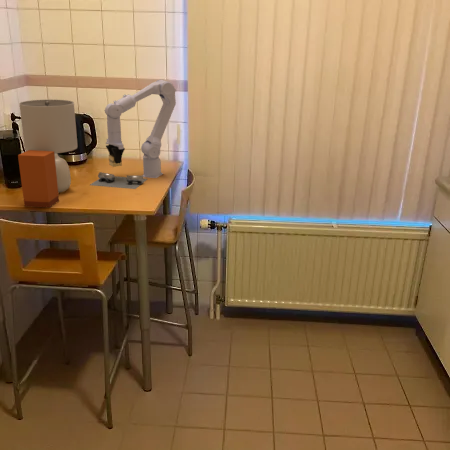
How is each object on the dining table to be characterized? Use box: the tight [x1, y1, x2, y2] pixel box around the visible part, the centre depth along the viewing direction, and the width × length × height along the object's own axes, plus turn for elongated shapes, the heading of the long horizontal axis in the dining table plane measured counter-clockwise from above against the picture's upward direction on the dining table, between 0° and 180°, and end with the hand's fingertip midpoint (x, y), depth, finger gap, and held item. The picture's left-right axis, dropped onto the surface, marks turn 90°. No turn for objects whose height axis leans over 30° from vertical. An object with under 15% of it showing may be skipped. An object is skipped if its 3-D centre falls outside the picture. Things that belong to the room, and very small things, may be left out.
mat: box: [89, 175, 148, 190], centre depth 220 cm, size 16×21×1 cm
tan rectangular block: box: [108, 154, 123, 168], centre depth 221 cm, size 4×4×5 cm
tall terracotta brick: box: [17, 150, 60, 209], centre depth 189 cm, size 10×9×20 cm
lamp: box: [19, 99, 78, 194], centre depth 201 cm, size 20×20×37 cm
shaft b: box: [125, 174, 144, 186], centre depth 218 cm, size 7×4×4 cm, turn 94°
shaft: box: [97, 171, 116, 183], centre depth 220 cm, size 7×4×4 cm, turn 64°
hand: (116, 162), depth 222 cm, fingers closed on tan rectangular block, 4 cm apart
